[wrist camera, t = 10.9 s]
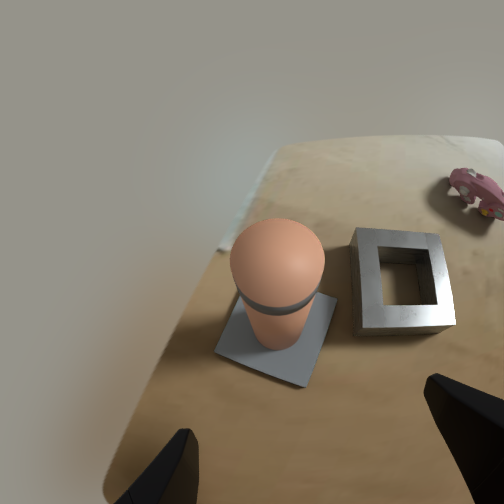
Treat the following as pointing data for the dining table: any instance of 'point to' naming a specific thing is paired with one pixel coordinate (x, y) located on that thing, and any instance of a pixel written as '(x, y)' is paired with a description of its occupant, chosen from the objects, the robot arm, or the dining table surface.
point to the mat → (278, 361)
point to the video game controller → (479, 191)
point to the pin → (277, 278)
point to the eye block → (370, 288)
